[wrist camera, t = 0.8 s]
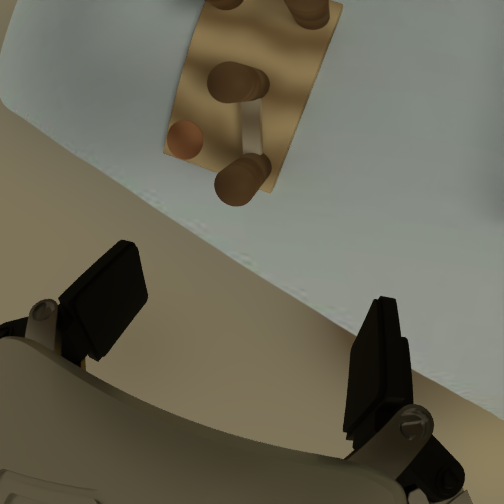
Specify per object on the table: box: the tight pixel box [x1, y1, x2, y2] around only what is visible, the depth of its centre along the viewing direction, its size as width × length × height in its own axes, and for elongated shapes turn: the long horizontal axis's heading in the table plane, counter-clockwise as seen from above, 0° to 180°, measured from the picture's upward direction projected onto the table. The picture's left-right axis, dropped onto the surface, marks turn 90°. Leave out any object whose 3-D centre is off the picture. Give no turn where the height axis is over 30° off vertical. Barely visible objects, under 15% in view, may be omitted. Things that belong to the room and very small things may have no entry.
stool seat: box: [163, 0, 343, 193], centre depth 23 cm, size 23×14×10 cm, turn 162°
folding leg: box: [207, 61, 272, 206], centre depth 24 cm, size 13×4×7 cm, turn 2°
